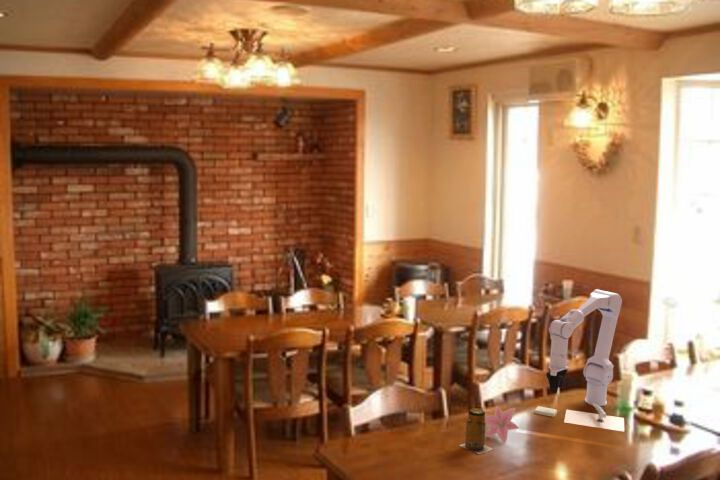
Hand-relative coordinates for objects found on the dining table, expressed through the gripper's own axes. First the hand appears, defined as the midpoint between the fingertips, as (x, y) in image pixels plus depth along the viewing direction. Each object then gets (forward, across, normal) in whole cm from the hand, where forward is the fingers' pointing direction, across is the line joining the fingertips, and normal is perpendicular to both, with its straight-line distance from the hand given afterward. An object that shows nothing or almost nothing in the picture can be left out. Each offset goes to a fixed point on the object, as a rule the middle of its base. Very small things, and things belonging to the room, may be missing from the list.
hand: (556, 389), depth 266 cm
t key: (+8, +2, -15) cm, 17 cm away
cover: (+10, -2, +2) cm, 10 cm away
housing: (+9, 0, -14) cm, 17 cm away
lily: (+10, -31, +11) cm, 34 cm away
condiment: (+10, -44, +15) cm, 48 cm away
